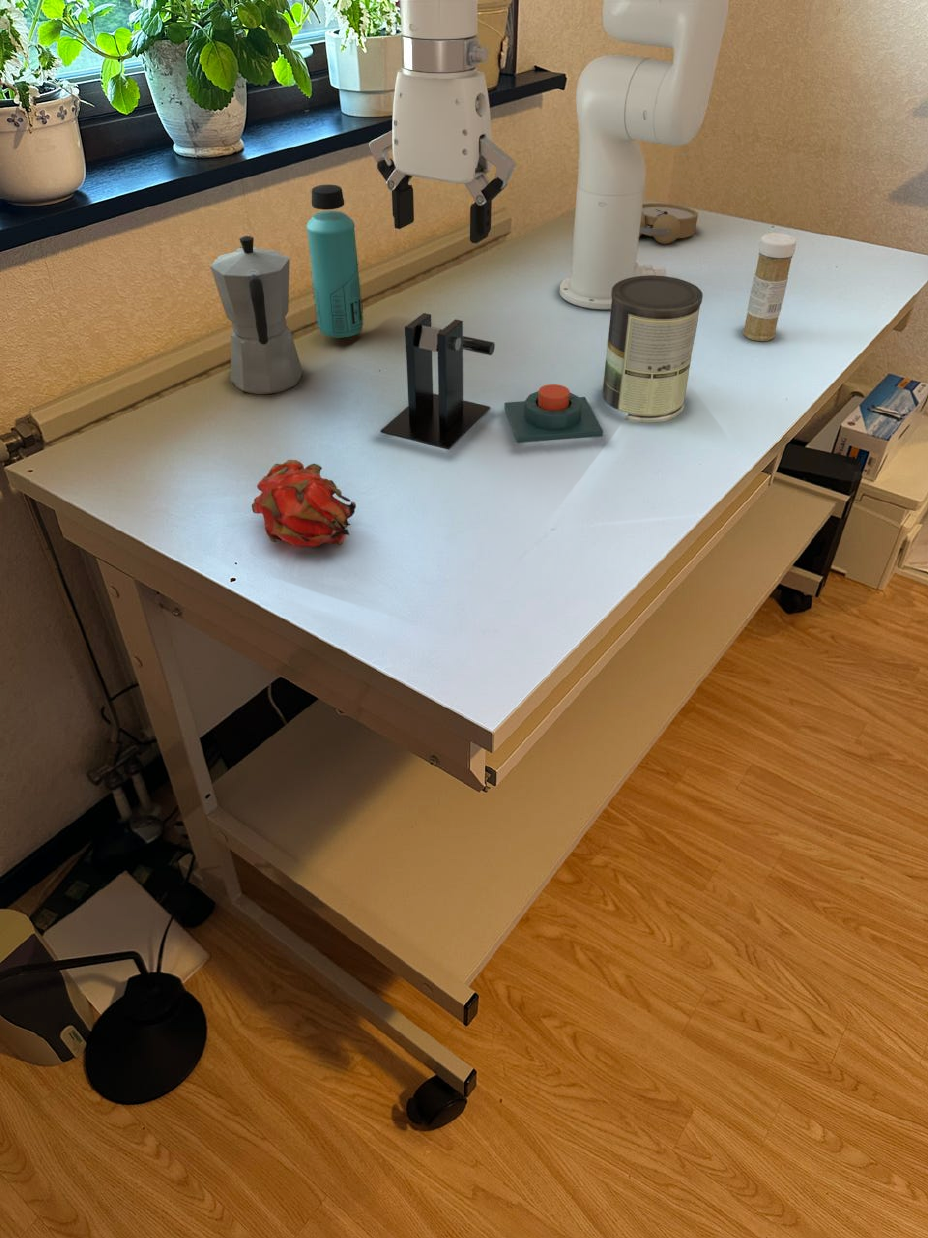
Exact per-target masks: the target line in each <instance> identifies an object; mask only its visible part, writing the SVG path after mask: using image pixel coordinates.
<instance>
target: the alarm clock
mask: <svg viewBox="0 0 928 1238" xmlns="http://www.w3.org/2000/svg"><path fill="white" fill-rule="evenodd" d="M698 217H699V213H698V212H697V211H696V210H695V209H692V208H690V207H688V206H687V207H686V206H683V205H682V206H681V205H677V204H671V203H662V202H661V203H660V202H659V203H658V202H656V203H655V202H654V203H653V202H652V203H651V202H650V203H649V202H648V203H643V205H642V214H641V222H640V231H639V238H640V237H641V236H642V235H645V236H649V237H653V238H654V239H655V240H656V242H658V243H660V244H663V245H668V244H671V243H673V242H674V241H675V240H677V239H681V238H682V239H683V238H689V237H692V236H694V235H695V234H696V227H697V223H698V222H697V221H698Z"/></svg>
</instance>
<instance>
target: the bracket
mask: <svg viewBox="0 0 928 1238" xmlns="http://www.w3.org/2000/svg"><path fill="white" fill-rule="evenodd" d="M422 326H428V327H433V326H432V314H431V313H426V312H423V313H421V314H420V315H419V316H417V317H416V318H414V320H412V321H411V322H409V323H408V324H407V325H406V326H404V338H405V341H404V342H405V361H406V381H407V383H406V384H407V405H408V406H407V407H406V408H404V409H403V410H402V411H401V412H400V413H399V414H397V415H396V416H395V417H394V418H393V419H392V420H390V421H389V422H388V423H387V424H386V425H385V426H384V427H383V428H381V430H380V431H379V432H380V433H381V434H386V435H389V436H393V437H397V438H400V439H401V438H402V439H405V440H410V441H413V442H417V443H420V444H424V445H429V446H433V447H437V448H440V449H445V450H450V449H452V447H453V446H455V445H456V443H457V442H458V441H459V440H460V439H461V438H462V437H463V436H464V435H466V433H468V431H469V430H470V429H472V427H473V426H474V425H475V424H476V423H477V422H478V421H479V420H480V419H481V418H483V416H484V415H485V414H486V413H487V412H488V411H489V410H490V409H491V406H489V405H485V404H481V403H476V402H472V401H469V400H465V399H464V350H463V336H464V320H462V319H461V320H460V319H454V320H452V321H451V322H450V323H448V325H446V326H445V327H444V328H442V329H443V330H441V331H440V332H439V333H438V334H437V350H438V352H437V388H438V391H437V392H438V394H437V393H435V392H434V369H433V351H431V350H426V349H422V348H419V342H420V336H421V330H422Z"/></svg>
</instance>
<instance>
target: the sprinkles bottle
mask: <svg viewBox="0 0 928 1238" xmlns="http://www.w3.org/2000/svg"><path fill="white" fill-rule="evenodd" d="M796 247H797V239H796V238H795V237H794V236H793V235H790V234H787V233H781V232H770V233H765V234H764V235H762V236H761V238H760V242H759V246H758V257H757V262H756V268H755V273H754V275H753V280H752V286H751V291H750V294H749V301H748V305H747V311H746V312H747V314H746V318H745V322H744V327H743V330H742V334H743V336H745V337H746V338H748V339H750V340H752V341H756V342H768V341H770V340H772V339H775V337H776V335H777V332H776V330H777V327H778V323H779V317H780V315H781V312H782V307H783V302H784V298H785V293H786V290H787V284H788V281H789V271H790V268H791V263H792V258H793V256H794V254H795V252H796Z"/></svg>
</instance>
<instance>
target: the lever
mask: <svg viewBox="0 0 928 1238" xmlns="http://www.w3.org/2000/svg"><path fill="white" fill-rule="evenodd" d="M443 329H444V328H438V327H433V326H432V327H428V326H422V330H421V336H420V342H419V348H422V349H426V350H431V351H432V352H436V353H438V350H437V334H438V333H439V332H440V331H441V330H443ZM495 346H496V344H495V342H493V341H489V340H485V339H480V338H475V337H471V336H464V335H463V351H468V352H472V353H477V354H482V355H487V356H493V354H494V353H495Z"/></svg>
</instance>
